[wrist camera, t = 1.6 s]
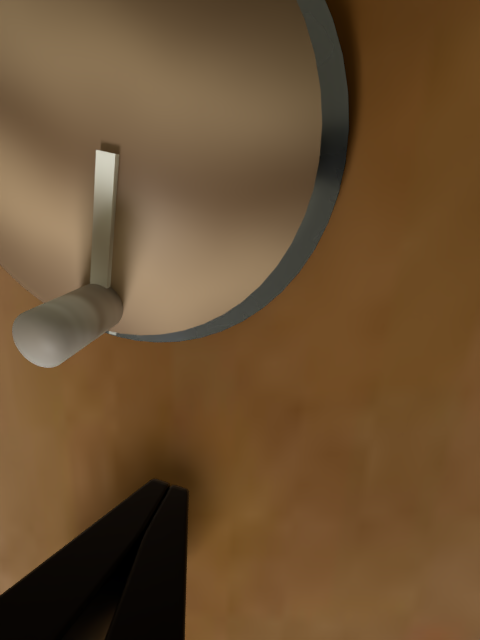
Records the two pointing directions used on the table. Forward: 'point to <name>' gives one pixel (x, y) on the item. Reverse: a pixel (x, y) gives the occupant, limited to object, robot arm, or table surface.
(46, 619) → the robot arm
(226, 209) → the dial
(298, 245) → the dial housing
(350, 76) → the table surface
